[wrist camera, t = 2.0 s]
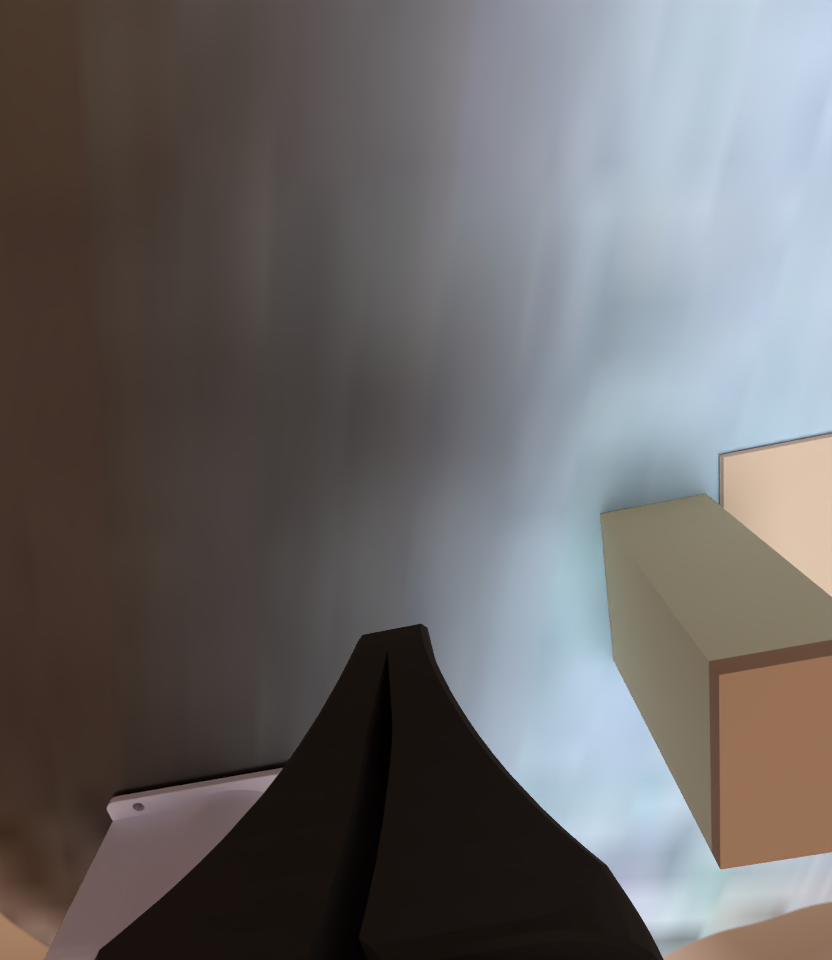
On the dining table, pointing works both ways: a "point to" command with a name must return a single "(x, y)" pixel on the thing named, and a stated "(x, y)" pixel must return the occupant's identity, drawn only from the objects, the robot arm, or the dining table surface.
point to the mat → (785, 500)
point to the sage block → (726, 674)
